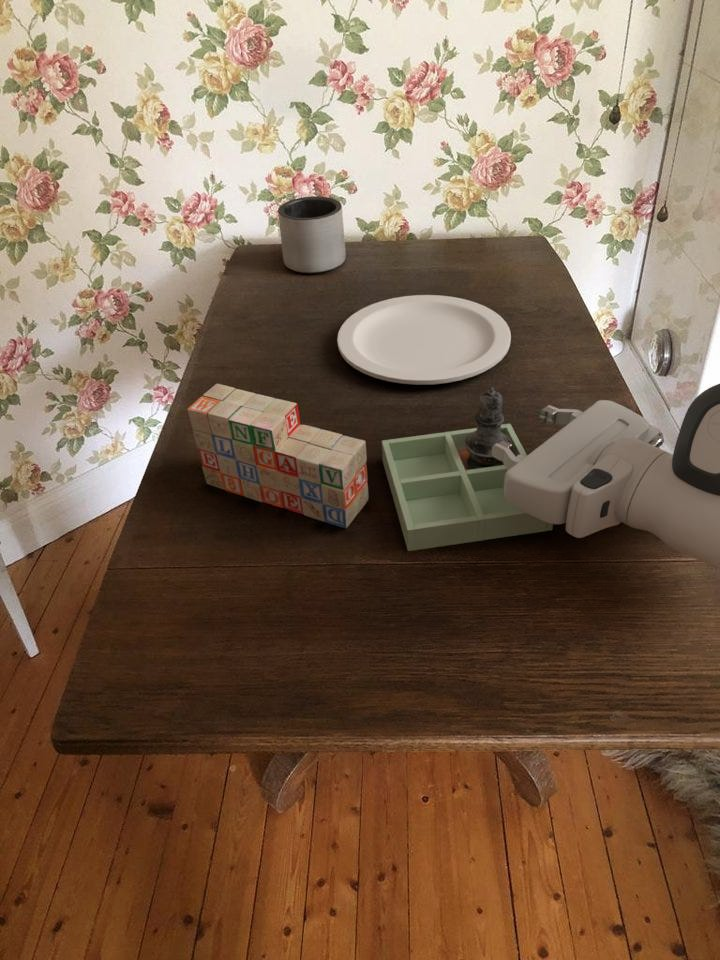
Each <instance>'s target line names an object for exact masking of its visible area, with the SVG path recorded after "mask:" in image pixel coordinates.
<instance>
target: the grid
mask: <svg viewBox="0 0 720 960" xmlns="http://www.w3.org/2000/svg"><path fill="white" fill-rule="evenodd" d="M474 431H477V427H473V428H466V429H458V430H450V431H444V432H436V433H428V434H423V435H415V436H407V437H399V438H391V439H384V440H381V457H382V458H381V459H382V464H383V467H384V471H385V475H386V478H387V481H388V485H389V489H390V492H391V496H392V499H393V503H394V507H395V510H396V513H397V518H398V520H399V524H400V528H401V531H402V535H403V538H404V542H405V545H406V549H407V552H412V551H420V550H426V549H433V548H440V547H447V546H454V545H461V544H467V543H475V542H481V541H488V540H493V539H500V538H501V539H502V538H508V537H516V536H521V535H530V534H537V533H542V532H549V531H553V529H554V528H553V527H554V524H550V523H547V522H544V521H542V520H540V519H537V518H535V517H533V516H531V515H529V514H527V513H525V512H523V511H521V510H520V509H518V508H516V507H514V506H513V505H511V504H510V503H508V501H507V500H506V498H505V496H504V479H505V474H506V472H507V471H508V470H507V468H506V467H505V465H501V466H493V467H486V468H479V469H472V470H468V469H467V466H466V461H467V459H468V457H469V456H470V455H469V453H468V451H467V448H466V446H465V439H466V437H467V436H468V435H469V434H470V433H472V432H474ZM501 432H502V433H504V434H506V435H507V436H508V437H509V438H510V440H511V444H512V450H511V451H512V453H513V454H514V455H515V456H517V455H522V456H524V457H526V456H527V455H528V454H527V452H526V451H525V449H524V447H523V445H522V443H521V442H520V439H519V438H518V436H517V434H516V432H515V430H514V427H513V426H512V424H511V423H502V424H501Z"/></svg>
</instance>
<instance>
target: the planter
mask: <svg viewBox="0 0 720 960" xmlns="http://www.w3.org/2000/svg"><path fill="white" fill-rule="evenodd" d="M277 215H278V223H279V233H280V242H281V252H282V259H283V263H284V265H285V267H286V268H288V269H290V270H291V271H293V272H296V273H300V274H306V275H307V274H308V275H315V274H322V273H327V272H330V271H333V270H334V269H336V268H338V267H340V266H341V265H343V264H344V262H345V260H346V259H347V258H346V256H347V253H346V251H347V250H346V241H345V240H346V239H345V227H344V218H343V217H344V216H343V205H342V203H341V202H340V201H339V200H338V199H335V198H332V197H330V196H329V197H328V196H319V195H317V196H316V195H314V196H313V195H311V196H303V197H298V198H294V199H290V200H288V201H286V202H283V203H282V204H280V205H279V207H278V209H277Z"/></svg>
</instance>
